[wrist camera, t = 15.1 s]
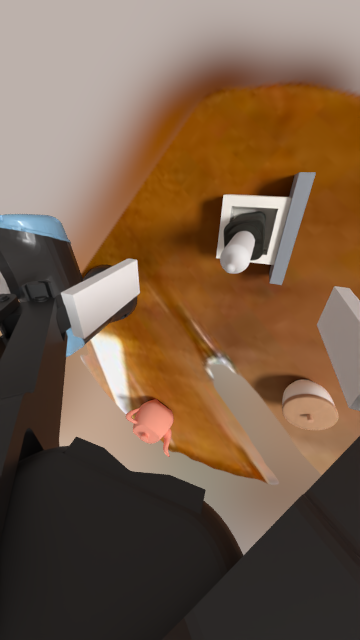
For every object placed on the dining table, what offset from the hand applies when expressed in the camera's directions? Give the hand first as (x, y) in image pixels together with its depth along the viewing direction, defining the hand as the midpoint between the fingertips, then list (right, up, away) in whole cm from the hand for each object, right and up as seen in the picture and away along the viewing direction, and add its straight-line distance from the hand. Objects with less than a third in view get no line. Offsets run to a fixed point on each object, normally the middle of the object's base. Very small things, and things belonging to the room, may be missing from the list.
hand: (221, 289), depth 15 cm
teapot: (-10, -36, +65) cm, 74 cm away
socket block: (+10, +15, +24) cm, 30 cm away
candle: (+10, +15, +24) cm, 29 cm away
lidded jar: (+28, -19, +38) cm, 51 cm away
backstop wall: (+16, +14, +23) cm, 31 cm away
